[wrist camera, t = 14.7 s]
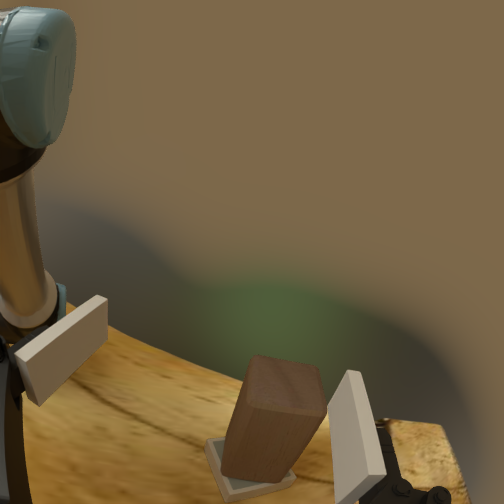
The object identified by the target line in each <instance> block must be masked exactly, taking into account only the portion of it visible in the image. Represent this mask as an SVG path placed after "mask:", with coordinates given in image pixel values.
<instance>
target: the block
mask: <svg viewBox="0 0 504 504" xmlns="http://www.w3.org/2000/svg"><path fill="white" fill-rule="evenodd" d="M326 414H327V405H326V400H325V395H324V391H323V386H322V382H321V378H320V373H319V369H318V368H317V367H316V366H314V365H309V364H303V363H297V362H292V361H287V360H281V359H276V358H271V357H266V356H261V355H254V356H253V358H252V359H251V360H250V362H249V366H248V368H247V372H246V375H245V378H244V381H243V384H242V387H241V390H240V393H239V396H238V400H237V403H236V406H235V409H234V412H233V415H232V418H231V421H230V424H229V427H228V430H227V433H226V436H225V443H224V449H223V455H222V462H221V468H220V471H221V474H222V475H223V476H225V477H230V478H236V479H242V480H249V481H256V482H265V483H274V484H275V483H280V482H281V481H282V480H283V478H284V477H285V476H286V474H287V473H288V472H289V470H290V469H291V467H292V466H293V465H294V463H295V462H296V460H297V459H298V458H299V456H300V455H301V453H302V452H303V450H304V449H305V448H306V446H307V445H308V443H309V442H310V440H311V439H312V437H313V435H314V434H315V432H316V431H317V429H318V428H319V426H320V424H321V423H322V421H323V420H324V418H325V416H326Z"/></svg>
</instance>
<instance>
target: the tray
mask: <svg viewBox="0 0 504 504" xmlns="http://www.w3.org/2000/svg"><path fill="white" fill-rule="evenodd" d="M224 443H225V437H221V438H212V439H207V440H206V444H205V448H204V452H205V454H206V457H207V460H208V462H209V465H210V467H211V470H212V473H213V475H214V478H215V480H216V482H217V485H218V487H219V490H220V492H221V494H222V497H223V499H224V501H225V503H228V502H233V501H238V500H243V499H247V498H252V497H256V496H260V495H264V494H268V493H271V492H275V491H278V490H282V489H285V488H288V487H290V486H291V484H292V483H293V482H294V481H295V480H296V478H297V477H296V476H295V474H294V472H293V471H292V469H290V470H289V472H288V473H287V474H286V476H285V477H284V478H283V480H282V481H281V482H280V483H275V484H274V483H265V482H256V481H249V480H242V479H236V478H230V477H225V476H223V475H222V474H221V471H220V468H221V462H222V455H223V449H224Z"/></svg>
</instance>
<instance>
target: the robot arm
mask: <svg viewBox="0 0 504 504" xmlns="http://www.w3.org/2000/svg"><path fill="white" fill-rule="evenodd" d="M75 60H76V33H75V27H74V23H73V21H72V19H71V18H70V16H69V15H68V14H67V13H65V12H64V11H62V10H58V9H48V8H35V7H30V6H25V7H14V8H5V9H0V504H33V503H32V499H31V494H30V488H29V482H28V476H27V469H26V461H25V451H24V438H23V413H22V394H21V393H23V392H24V391H26V394H27V397H28V399H29V400H31V401H32V402H33V403H35V404H36V405H38V406H39V407H40V406H41V405H42V404H43V403H44V402H45V401H46V400H47V399H48V398H49V397H50V396H51V395H52V394H53V393H54V392H55V391H56V390H57V389H58V388H59V387H60V386H61V385H62V384H63V383H64V382H65V381H66V380H67V379H68V378H69V377H70V376H71V375H72V374H73V373H74V372H75V371H76V370H77V369H78V368H79V367H80V366H81V365H82V364H83V363H84V362H85V361H86V360H87V359H88V358H89V357H90V356H91V355H92V354H93V353H94V352H95V351H96V350H97V349H98V348H99V347H100V346H101V345H102V344H104V343H105V342H106V341H107V340H108V316H107V315H108V299H106V298H104V297H101V296H99V295H96V296H94V297H93V298H91V299H90V300H88V301H87V302H85V303H84V304H82V305H81V306H80V307H78V308H77V309H75V310H74V311H72V312H71V313H69V314H68V315H66V287H65V286H64V285H60V284H59V283H55V282H54V280H53V278H52V277H51V276H50V274H48V272H47V271H46V270H44V267H43V260H42V255H41V248H40V242H39V235H38V226H37V217H36V206H35V192H34V167H35V166H36V165H37V164H38V163H39V162H40V160H41V159H42V157H43V156H44V154H45V152H46V150H47V146H48V145H50V144H53V143H54V142H55V141H56V140H57V138H58V137H59V135H60V133H61V131H62V128H63V125H64V122H65V118H66V115H67V111H68V105H69V95H70V93H71V91H72V85H73V78H74V69H75ZM9 344H14V345H13V346H11V347H10V346H9ZM328 415H329V425H330V436H331V447H332V460H333V474H334V490H335V504H354V503H355V502H356V501H358V500H359V504H451V494H450V492H449V491H448V490H447V489H446V488H444V487H442V486H436V487H433V488H432V489H431V490H430V491H428V492H426V491H421V490H416V489H413V487H412V485H411V484H410V483H409V482H408V481H407V480H405V479H403V478H402V477H401V474H400V470H399V466H398V462H397V458H396V454H395V453H394V452H395V451H394V447H393V443H392V440H391V436H390V435H389V434H388V432H387V431H386V430H385V428H376V427H375V423H374V419H373V415H372V411H371V408H370V404H369V400H368V397H367V393H366V390H365V386H364V383H363V379H362V376H361V373H360V372H358V371H352V370H347V371H346V373H345V375H344V377H343V379H342V381H341V383H340V384H339V386H338V388H337V390H336V392H335V394H334V395H333V397H332V399H331V401H330V402H329V404H328Z"/></svg>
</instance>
